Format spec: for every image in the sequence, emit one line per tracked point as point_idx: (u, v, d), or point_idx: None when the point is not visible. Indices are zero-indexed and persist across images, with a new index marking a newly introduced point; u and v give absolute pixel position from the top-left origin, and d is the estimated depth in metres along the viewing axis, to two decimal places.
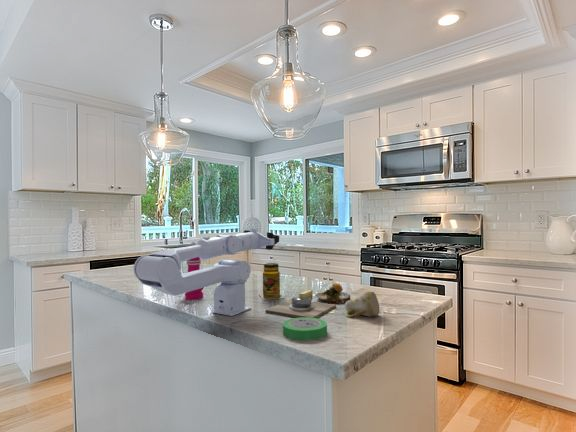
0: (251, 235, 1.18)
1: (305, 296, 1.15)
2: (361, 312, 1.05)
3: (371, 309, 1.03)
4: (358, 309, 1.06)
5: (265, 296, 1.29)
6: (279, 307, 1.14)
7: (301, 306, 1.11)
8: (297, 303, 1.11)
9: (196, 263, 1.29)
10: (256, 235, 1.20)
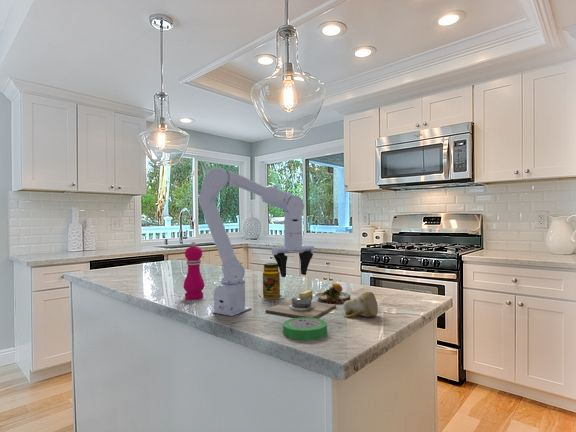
0: (291, 237, 1.15)
1: (305, 296, 1.15)
2: (359, 312, 1.04)
3: (369, 309, 1.03)
4: (356, 309, 1.06)
5: (265, 296, 1.29)
6: (279, 307, 1.14)
7: (301, 306, 1.11)
8: (297, 303, 1.11)
9: (196, 263, 1.29)
10: (290, 244, 1.15)
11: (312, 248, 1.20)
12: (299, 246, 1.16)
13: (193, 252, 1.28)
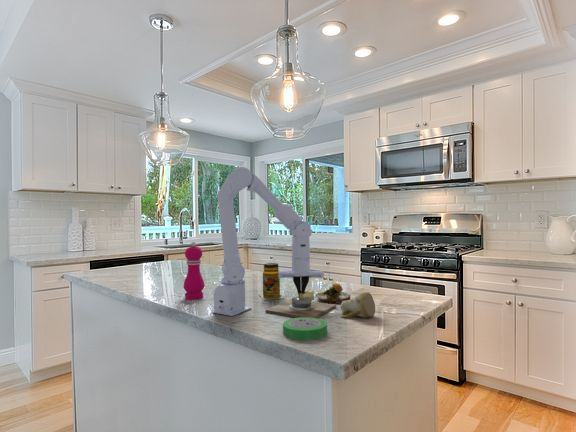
0: (295, 262, 1.17)
1: (305, 296, 1.15)
2: (355, 313, 1.04)
3: (365, 310, 1.03)
4: (353, 310, 1.05)
5: (265, 296, 1.29)
6: (279, 307, 1.14)
7: (300, 306, 1.11)
8: (297, 303, 1.11)
9: (196, 263, 1.29)
10: (294, 269, 1.17)
11: (321, 274, 1.17)
12: (303, 271, 1.16)
13: (193, 252, 1.28)
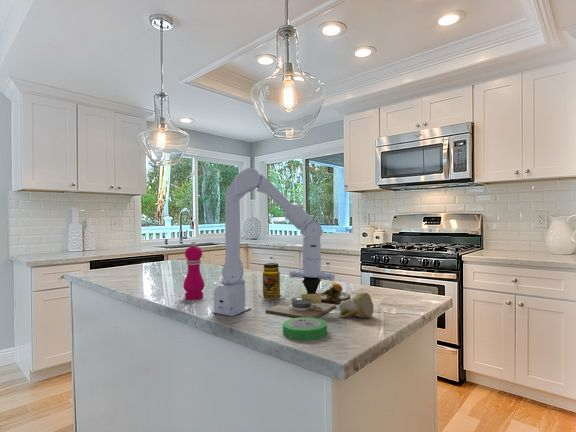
0: (303, 262, 1.16)
1: (306, 297, 1.13)
2: (353, 313, 1.04)
3: (362, 310, 1.02)
4: (350, 310, 1.05)
5: (265, 296, 1.29)
6: (279, 307, 1.14)
7: (293, 305, 1.12)
8: (292, 301, 1.13)
9: (196, 263, 1.29)
10: (303, 269, 1.16)
11: (331, 276, 1.13)
12: (310, 272, 1.14)
13: (193, 252, 1.28)
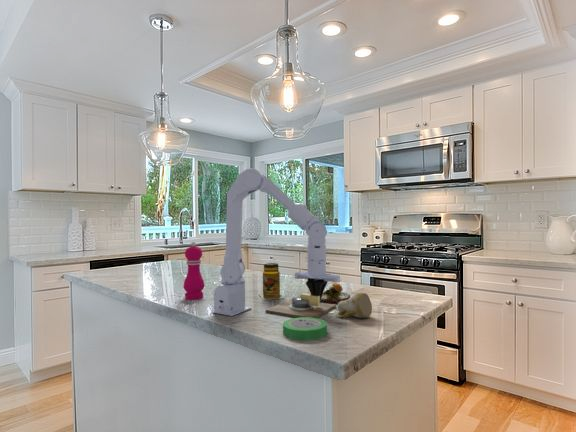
0: (308, 263, 1.13)
1: (304, 298, 1.13)
2: (351, 313, 1.04)
3: (360, 310, 1.02)
4: (348, 310, 1.05)
5: (265, 296, 1.29)
6: (279, 307, 1.14)
7: None
8: None
9: (196, 263, 1.29)
10: None
11: (335, 278, 1.10)
12: (314, 274, 1.11)
13: (193, 252, 1.28)
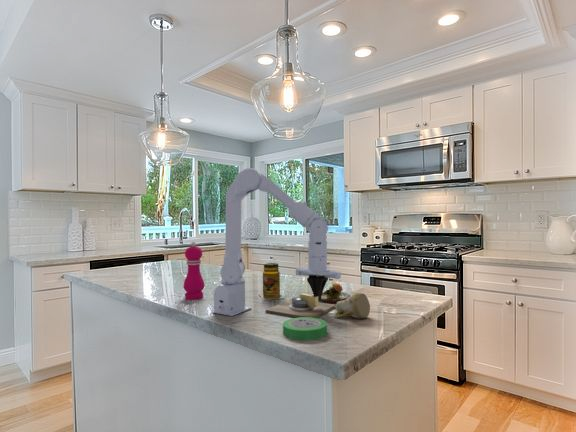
0: (309, 259, 1.13)
1: (303, 298, 1.12)
2: (348, 313, 1.04)
3: (357, 311, 1.02)
4: (346, 310, 1.05)
5: (265, 296, 1.29)
6: (279, 307, 1.14)
7: None
8: None
9: (196, 263, 1.29)
10: (308, 267, 1.13)
11: (336, 275, 1.10)
12: (315, 270, 1.11)
13: (193, 252, 1.28)
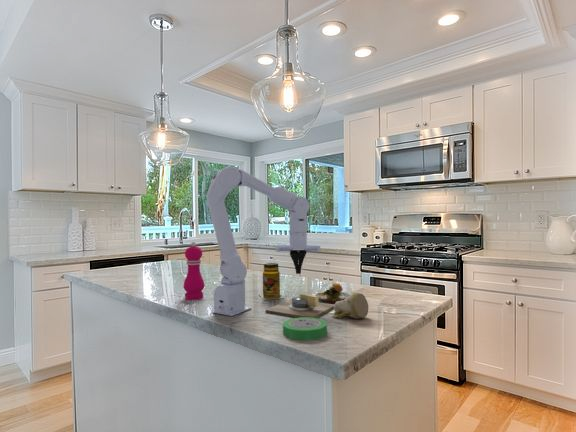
0: (291, 236, 1.20)
1: (303, 298, 1.12)
2: (346, 313, 1.04)
3: (355, 311, 1.02)
4: (344, 310, 1.05)
5: (265, 296, 1.29)
6: (279, 307, 1.14)
7: None
8: None
9: (196, 263, 1.29)
10: (291, 243, 1.21)
11: (318, 248, 1.20)
12: (299, 245, 1.19)
13: (193, 252, 1.28)
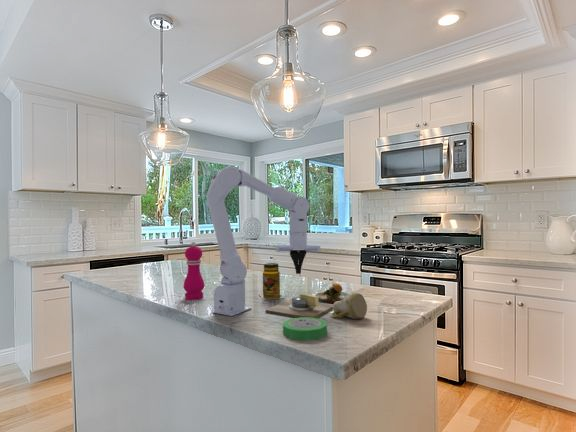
0: (291, 236, 1.20)
1: (303, 298, 1.12)
2: (344, 313, 1.03)
3: (353, 311, 1.02)
4: (342, 310, 1.05)
5: (265, 296, 1.29)
6: (279, 307, 1.14)
7: None
8: None
9: (196, 263, 1.29)
10: (291, 243, 1.21)
11: (318, 248, 1.20)
12: (299, 245, 1.19)
13: (193, 252, 1.28)
